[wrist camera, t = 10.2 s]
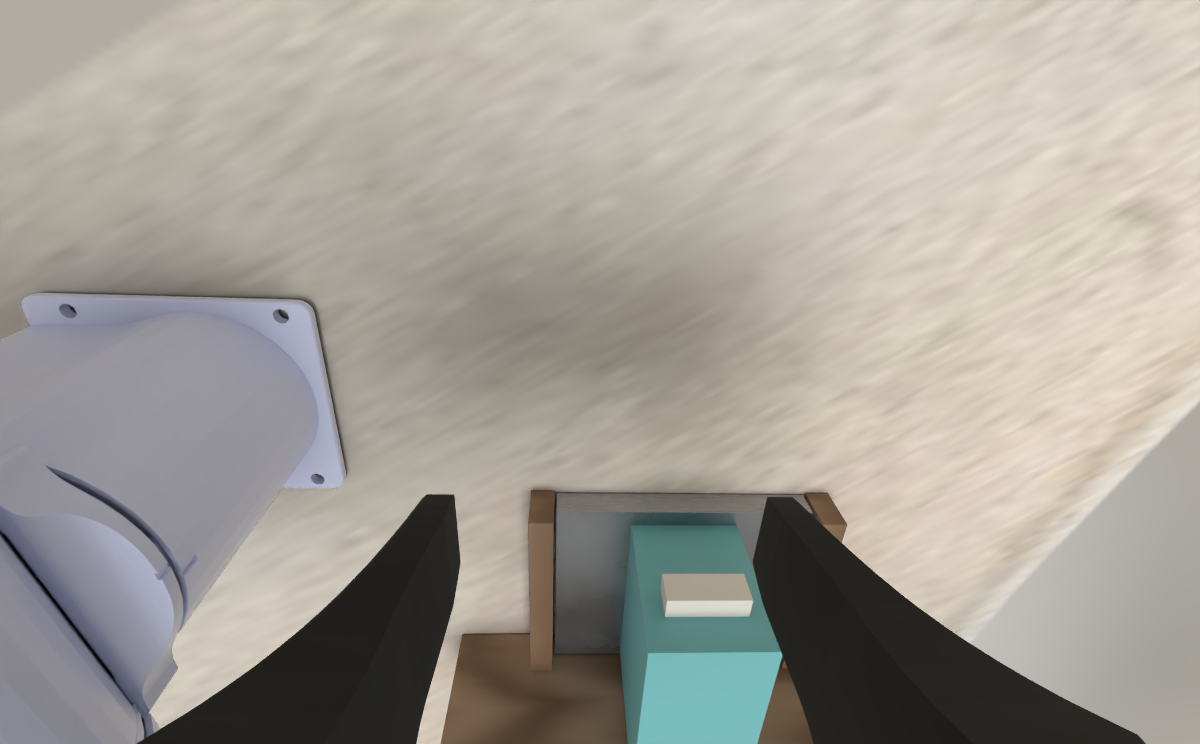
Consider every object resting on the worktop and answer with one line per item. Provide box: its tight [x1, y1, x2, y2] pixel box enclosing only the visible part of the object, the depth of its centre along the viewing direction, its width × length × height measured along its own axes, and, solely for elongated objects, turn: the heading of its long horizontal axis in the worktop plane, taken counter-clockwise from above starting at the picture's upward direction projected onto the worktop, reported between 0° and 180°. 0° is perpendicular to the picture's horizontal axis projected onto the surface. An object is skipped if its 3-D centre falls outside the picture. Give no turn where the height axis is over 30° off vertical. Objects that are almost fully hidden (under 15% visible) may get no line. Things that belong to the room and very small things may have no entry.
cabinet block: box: [620, 525, 782, 744], centre depth 23 cm, size 4×9×6 cm, turn 177°
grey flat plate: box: [555, 493, 813, 654], centre depth 26 cm, size 11×9×1 cm
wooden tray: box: [441, 491, 847, 744], centre depth 24 cm, size 20×10×6 cm, turn 87°
